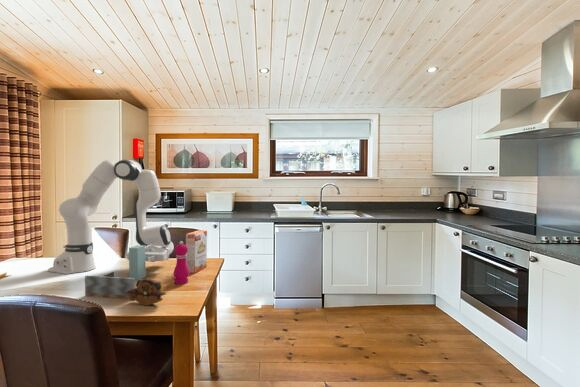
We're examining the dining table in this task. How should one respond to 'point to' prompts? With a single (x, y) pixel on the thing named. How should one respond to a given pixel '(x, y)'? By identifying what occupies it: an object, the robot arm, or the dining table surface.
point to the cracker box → (196, 250)
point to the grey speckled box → (109, 286)
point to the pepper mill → (181, 264)
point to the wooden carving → (146, 292)
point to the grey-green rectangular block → (137, 262)
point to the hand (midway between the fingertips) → (138, 259)
